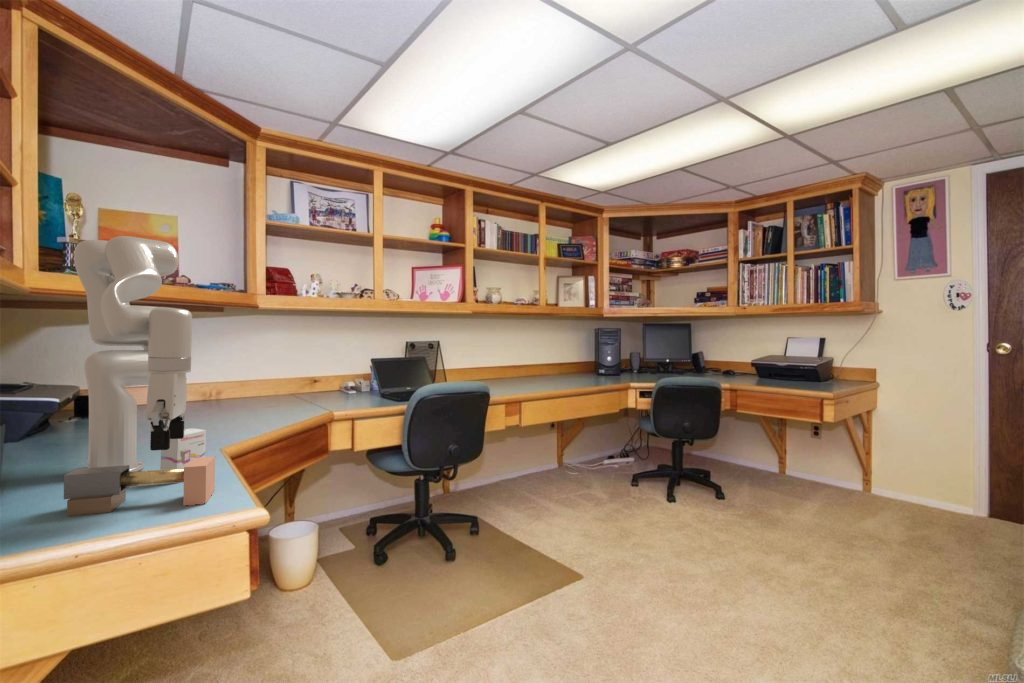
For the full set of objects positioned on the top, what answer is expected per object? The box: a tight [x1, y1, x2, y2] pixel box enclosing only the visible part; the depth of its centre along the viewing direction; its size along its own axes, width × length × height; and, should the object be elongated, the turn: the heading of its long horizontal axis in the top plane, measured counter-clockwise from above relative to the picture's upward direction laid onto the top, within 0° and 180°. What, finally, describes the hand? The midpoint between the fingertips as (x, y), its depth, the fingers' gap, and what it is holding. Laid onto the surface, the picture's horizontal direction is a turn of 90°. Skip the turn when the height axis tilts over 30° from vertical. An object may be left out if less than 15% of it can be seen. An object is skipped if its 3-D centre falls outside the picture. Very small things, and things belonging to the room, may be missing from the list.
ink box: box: [159, 427, 207, 470], centre depth 117 cm, size 9×5×12 cm, turn 168°
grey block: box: [63, 465, 130, 517], centre depth 96 cm, size 9×7×8 cm
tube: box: [121, 468, 184, 488], centre depth 100 cm, size 16×3×3 cm, turn 111°
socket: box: [183, 456, 216, 507], centre depth 103 cm, size 4×8×8 cm, turn 21°
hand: (167, 443), depth 101 cm, fingers open, 9 cm apart
